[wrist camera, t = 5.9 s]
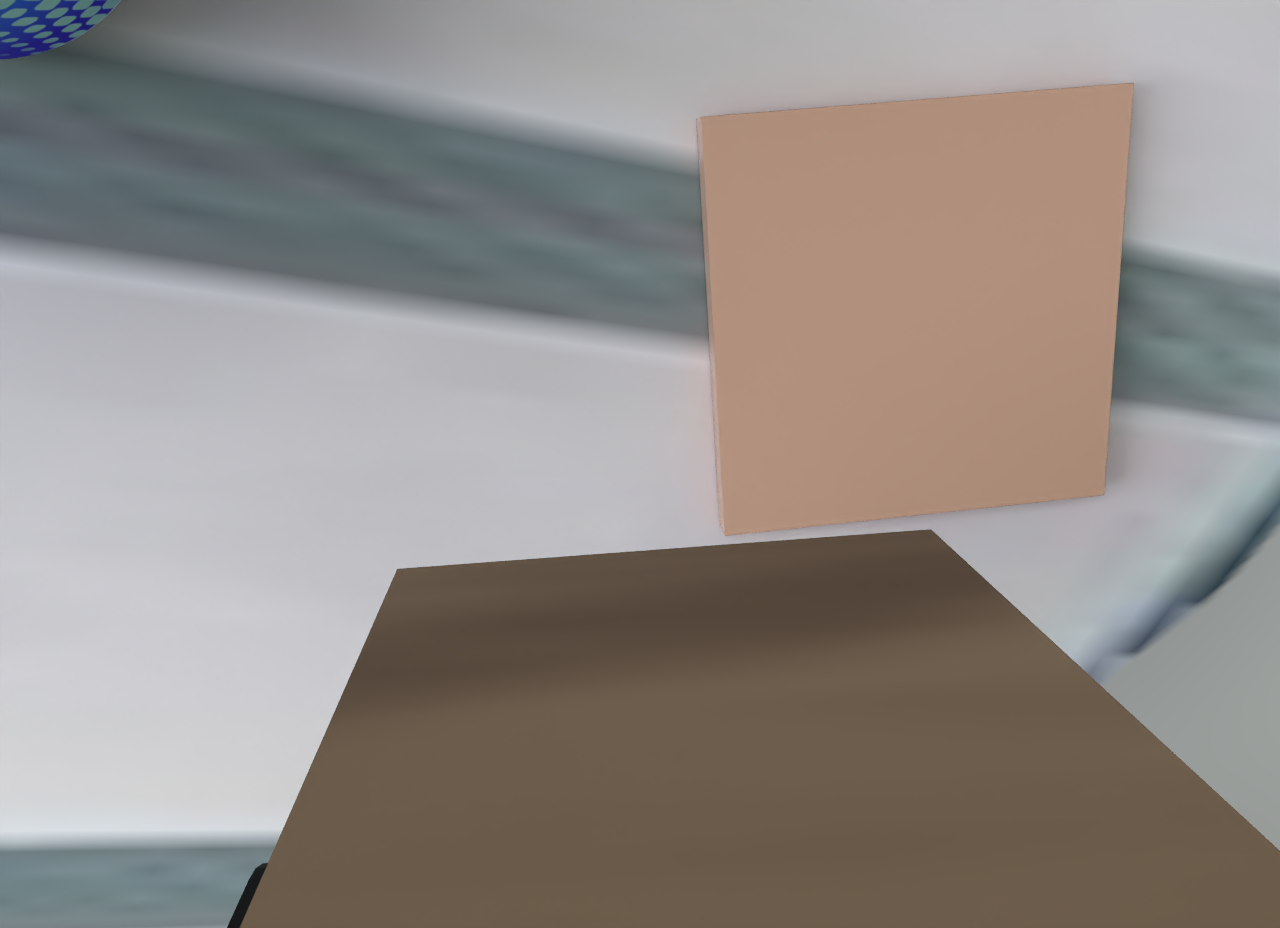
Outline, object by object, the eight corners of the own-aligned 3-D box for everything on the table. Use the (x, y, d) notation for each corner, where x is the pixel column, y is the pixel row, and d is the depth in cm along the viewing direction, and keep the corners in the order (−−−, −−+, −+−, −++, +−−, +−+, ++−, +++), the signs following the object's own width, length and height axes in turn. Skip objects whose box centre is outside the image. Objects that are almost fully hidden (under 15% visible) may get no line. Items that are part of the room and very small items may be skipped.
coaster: (696, 118, 23) (701, 117, 23) (1115, 86, 24) (1133, 82, 23) (719, 525, 27) (724, 536, 26) (1088, 486, 27) (1103, 495, 27)
